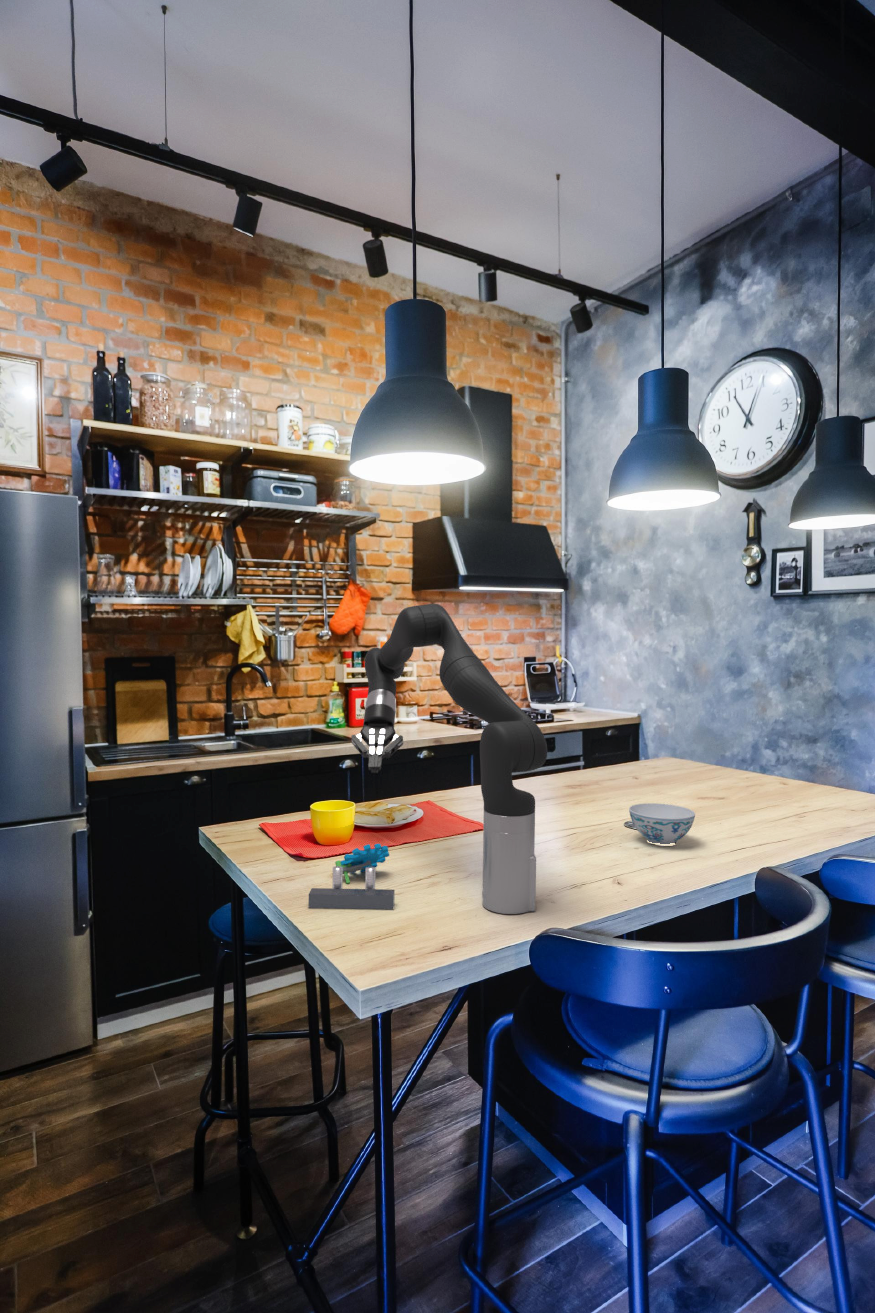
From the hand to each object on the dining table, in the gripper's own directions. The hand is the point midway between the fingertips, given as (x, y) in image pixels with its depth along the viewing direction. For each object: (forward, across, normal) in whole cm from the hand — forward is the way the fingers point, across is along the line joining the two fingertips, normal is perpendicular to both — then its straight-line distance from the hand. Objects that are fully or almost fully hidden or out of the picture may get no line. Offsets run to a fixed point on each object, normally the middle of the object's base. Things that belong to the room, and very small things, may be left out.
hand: (374, 770), depth 165 cm
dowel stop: (+37, 0, -13) cm, 39 cm away
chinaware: (+8, +68, +17) cm, 70 cm away
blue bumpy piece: (+28, 0, -3) cm, 28 cm away
